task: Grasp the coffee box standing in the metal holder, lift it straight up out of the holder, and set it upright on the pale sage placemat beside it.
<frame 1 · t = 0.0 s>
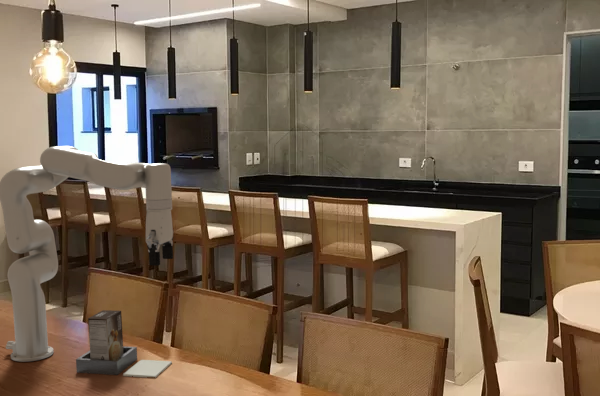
hand: (161, 261, 197), 31 cm above the table, fingers open, 9 cm apart
placemat: (148, 369, 195), on the table
holder: (107, 365, 199), on the table
coffee box: (107, 366, 199), resting in holder
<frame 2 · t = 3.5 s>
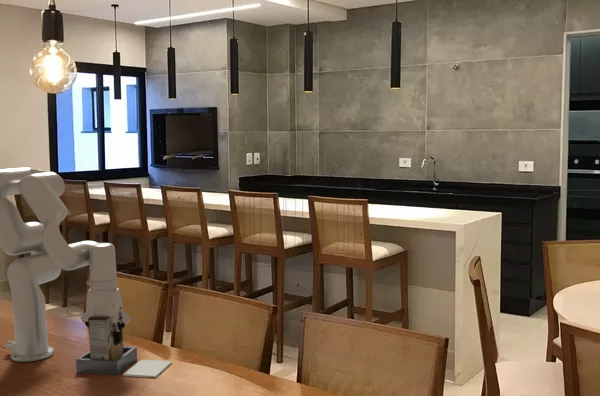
hand: (106, 342, 198), 7 cm above the table, fingers closed on coffee box, 6 cm apart
coffee box: (107, 366, 199), resting in holder, touching gripper
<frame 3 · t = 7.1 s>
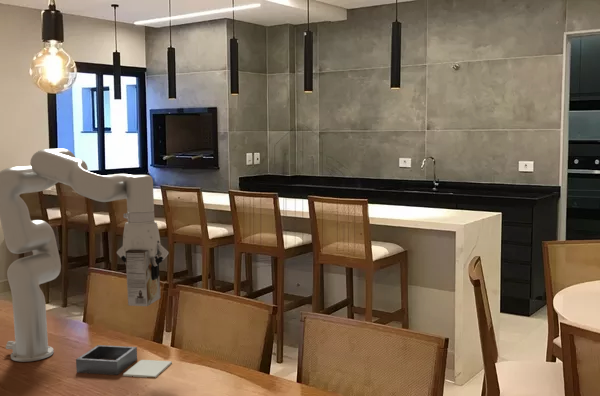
hand: (143, 278, 192), 28 cm above the table, fingers closed on coffee box, 6 cm apart
coffee box: (144, 302, 193), point 20 cm above the table, touching gripper
when the fingers open (9 cm above the table, at t = 11.2 s): coffee box stays where it is, resting on placemat.
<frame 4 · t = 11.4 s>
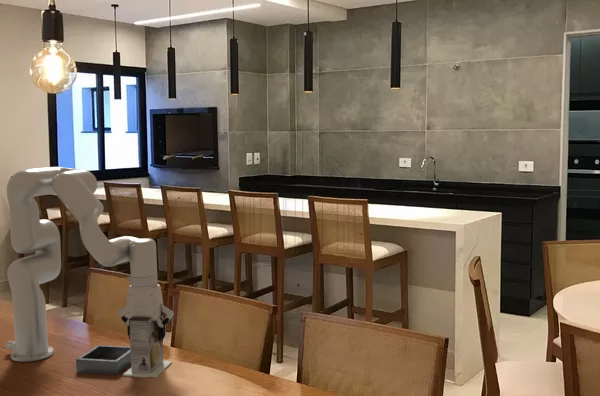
hand: (146, 338, 194), 9 cm above the table, fingers open, 8 cm apart
coffee box: (147, 368, 195), resting on placemat
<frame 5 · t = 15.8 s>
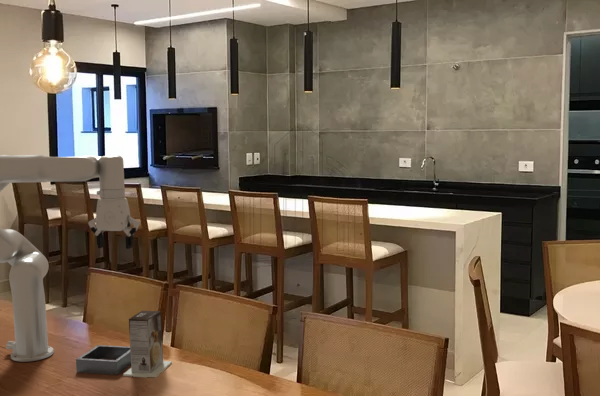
hand: (115, 247, 210), 33 cm above the table, fingers open, 9 cm apart
nothing on the table moved.
at the end: coffee box inside the target area on the placemat (0.2 cm from its centre), point 0.4 cm above the placemat's base; coffee box tilted 0°; the gripper is holding nothing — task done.
